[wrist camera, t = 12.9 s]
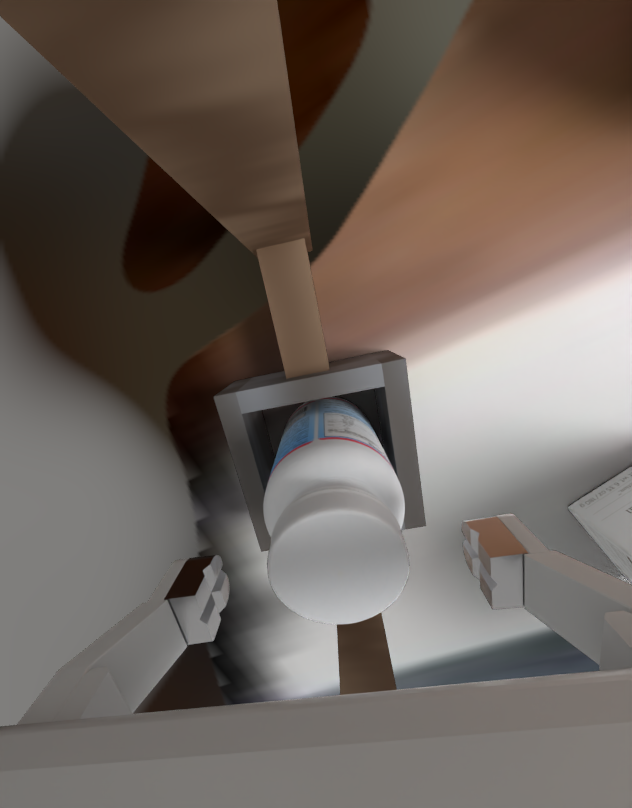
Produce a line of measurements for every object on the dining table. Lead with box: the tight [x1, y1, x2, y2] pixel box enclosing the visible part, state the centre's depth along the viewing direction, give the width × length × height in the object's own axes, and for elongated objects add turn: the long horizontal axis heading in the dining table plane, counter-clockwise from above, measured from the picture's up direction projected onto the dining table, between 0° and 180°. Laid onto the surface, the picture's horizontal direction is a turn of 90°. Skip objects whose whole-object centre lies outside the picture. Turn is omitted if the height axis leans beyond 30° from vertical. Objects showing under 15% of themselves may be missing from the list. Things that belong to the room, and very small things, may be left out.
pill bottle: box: [263, 397, 410, 624], centre depth 15 cm, size 6×6×11 cm
